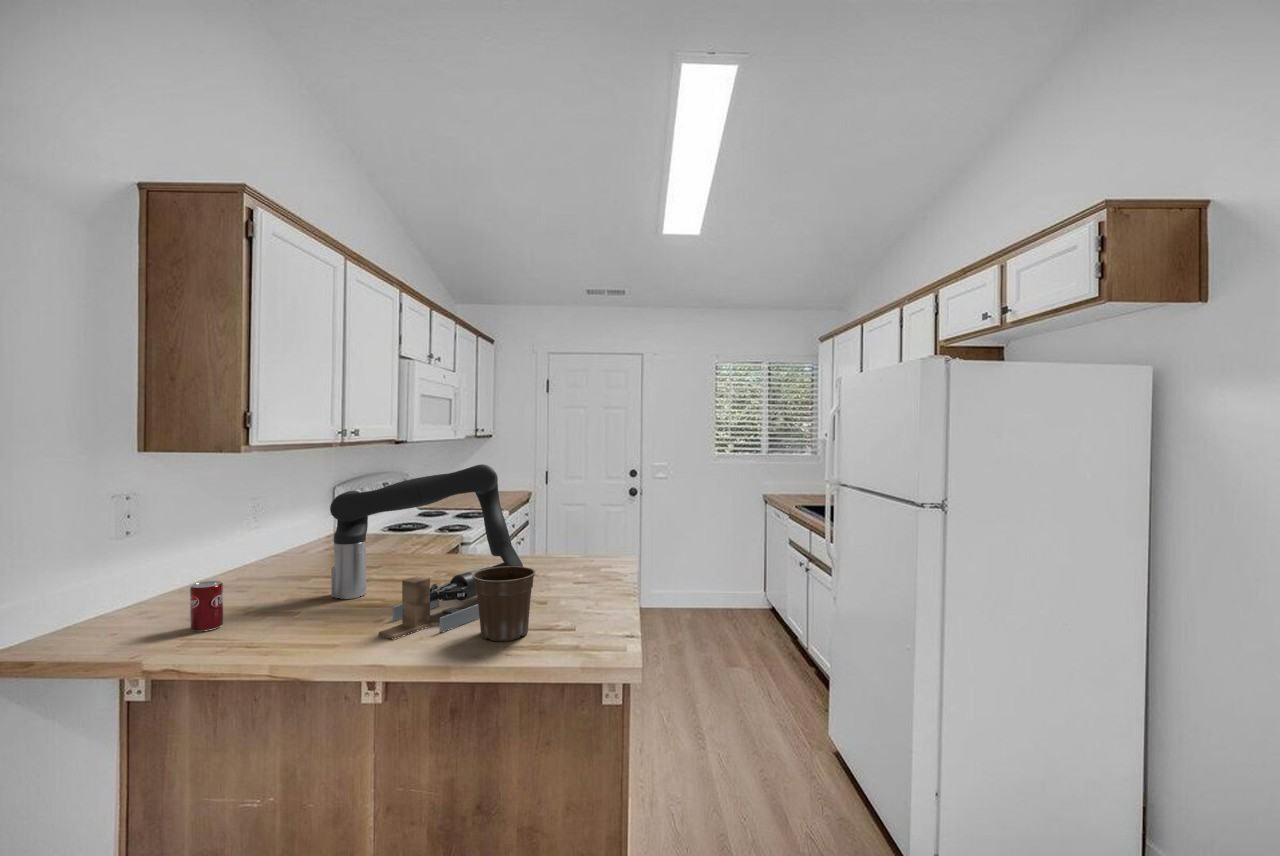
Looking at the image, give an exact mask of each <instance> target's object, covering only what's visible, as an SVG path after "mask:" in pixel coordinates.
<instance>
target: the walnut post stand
mask: <svg viewBox="0 0 1280 856" xmlns="http://www.w3.org/2000/svg"><path fill="white" fill-rule="evenodd" d="M401 580H402V579H401ZM401 582H402V583H401V584H402V585H401V586H402V589H401V590H402V592H401V593H402V595H401V599H402V600H401V601H402V603H401V604H402V619H401V620H402V621H401V622H402V623H401V624H398V625H394V626H392V627H390V628H389V627H388V628H387V629H384V630H381V631H379V632H378V636H379V635H380V636H379V637H381V636H384V637H383V638H385V637H388V638H387V639H389V638H393V639H395V638H398V637H401V636H403V635H406V634H408V633H411V632H414V631H417V630H420V629H422V628H425V627H428V626H431V627H432V622H431V609H430V588H431V578H429V577H423V576H419V575H417V576H412V577H410V578H404V579H403V580H402V581H401ZM428 628H429V627H428ZM425 629H426V628H425ZM420 631H421V630H420ZM417 632H418V631H417ZM414 633H415V632H414ZM406 636H407V635H406ZM401 638H402V637H401ZM393 639H392V640H393ZM398 639H399V638H398ZM395 640H396V639H395Z"/></svg>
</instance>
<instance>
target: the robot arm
mask: <svg viewBox="0 0 1280 856" xmlns="http://www.w3.org/2000/svg"><path fill="white" fill-rule="evenodd" d="M498 479H499V478H498V474H497V472H496V471H495V470H494V469H493V468H492V467H491V466H490V465H489V464H477V465H473V466H470V467H467V468H463V469H461V470H456V471H452V472H448V473H441V474H440V473H439V474H434V475H427V476H421V477H416V478H410V479H407V480H402V481H398V482H394V483H392V484H389V485H387V486H384V487H383V486H382V487H381V488H378V489H374V490H367V491H362V492H361V491H357V490H347V491H345V492H343V493H340V494H338V495H337V496H335V498H334V499H332V502H331V504H330V508H329V511H330V514H331V516H332V517H333V518H334V519H335V520H336V521H337V522H336V523H337V524H336V528H335V529H336V530H335V532H334V535H333V554H334V555H333V556H334V557H333V559H334V560H333V562H334V563H333V564H334V566H332V567H331V572H330V573H331V582H330V583H331V586H330V587H331V592H330V594H331V598H332V597H335V598H334V599H337V598H340V600H349V599H357V598H361V597H363V595H364V596H366V595H367V533H368V527H369V525H368V523H369V520H368V519H369V516H372V515H375V514H379V513H386V512H393V511H400V510H401V511H402V510H408V509H412V508H413V509H414V508H419V507H424V506H428V505H431V504H435V503H437V502H439V501H442V500H445V499H448V498H449V497H453V496H456V495H461V494H467V493H475V495H476V497H477V499H478V502H479V504H480V508H481V511H482V517H483V524H484V530H485V535H486V539H487V542H488V547H489V551H490V553H491V555H492V556H493V557H500V559H501V560H502V561H503V562H501V563H498V564H495V565H492V566H487V567H483V568H480V569H474V570H473V569H472V570H469V571H467V572H463V573H461V574H460V573H459V574H456V575H454V576H453V577H452V579H451V580H450V582H445V583H444V584H442V585H439V586H438V585H437V584H436V583H433V584H432V585H430V602H432V601H435V600H437V601H439V602H440V601H443V602H447V601H461V602H462V601H465V600H468V599H472V598H474V597H477V592H476V591H475V582H474V579H473V578H472V575H473V574H474V573H475V572H477V571H480V570H483V569H488V568H494V567H505V566H518V567H524V565H523V562H522V561H521V558H520V557H519V556H518V553H517V551H516V549H515V548H514V547H513V544H512V540H511V537H510V533H509V530H508V526H507V523H506V520H505V517H504V514H503V513H504V512H503V510H502V505H501V501H500V496H499V495H500V494H499V483H498ZM360 596H361V597H360Z"/></svg>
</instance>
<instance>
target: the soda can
mask: <svg viewBox="0 0 1280 856" xmlns="http://www.w3.org/2000/svg"><path fill="white" fill-rule="evenodd" d="M189 602H190V603H189V605H190V607H189V613H190V614H189V617H190V619H189V620H190V621H189V625H190V630H191V631H192V630H193V631H192V632H194V631H205V630H210V629H214V628H217V627H220V626H221V625H222V626H223V625H224V584H223V582H222V581H220V580H208V581H207V580H206V581H200V582H197V583H194V584H192V585H191V586H190V587H189ZM222 626H221V627H222ZM221 627H220V628H221Z"/></svg>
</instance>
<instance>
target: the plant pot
mask: <svg viewBox="0 0 1280 856" xmlns="http://www.w3.org/2000/svg"><path fill="white" fill-rule="evenodd" d="M482 569H483V568H482ZM479 570H480V569H479ZM535 575H536V571H535V569H533V568H531V567H525V566H523V567H518V566H505V567H494V568H488V569H483V570H480V571H477V572H475V573H474V574H473V575H472V578H473V579H474V582H475V591H476V592H477V596H476V597H477V604H478V607H479V618H480V619H479V627H480V636H481V638H482V639H484V640H488V639H489V640H490V641H492V642H507V641H508V642H509V641H513V640H517V639H520V638H521V636H522V637H526V635H528V633H529V624H530V623H529V621H530V620H529V619H530V611H531V609H530V608H531V607H530V606H531V599H532V597H531V596H532V588H533V587H534V576H535Z"/></svg>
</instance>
